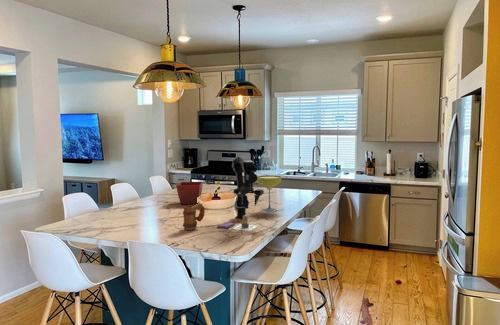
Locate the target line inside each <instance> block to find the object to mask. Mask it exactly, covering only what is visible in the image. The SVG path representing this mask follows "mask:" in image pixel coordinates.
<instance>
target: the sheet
mask: <svg viewBox="0 0 500 325" xmlns="http://www.w3.org/2000/svg"><path fill="white" fill-rule="evenodd" d="M258 227H259V225H252V224H249V228H242V223H240V224H238V225H235V226H233V228H232V227H231V228H232V230H239V231H247V232H248V231H249V232H250V231H253V230H254V229H256V228H258ZM252 229H253V230H252Z"/></svg>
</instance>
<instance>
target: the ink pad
mask: <svg viewBox="0 0 500 325" xmlns="http://www.w3.org/2000/svg"><path fill="white" fill-rule="evenodd" d="M235 226H236V223H234V222H224V223H223V222H222V224H219V225H217V229H222V230H223V229H225V230H229V229H230V228H232V227H235Z"/></svg>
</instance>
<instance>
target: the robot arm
mask: <svg viewBox="0 0 500 325" xmlns="http://www.w3.org/2000/svg"><path fill="white" fill-rule="evenodd" d="M231 168H232V170H233V171H232V172H234V174H235V179H236V188H235V189H233V194H235V195H236V198H235V202H234V209H235V210H236V211H237V213H236V214H237V215H236V216H235V217H234V218H235V219H243V216H244V215H246V209H247V210H248V209H249V204H250V202H249V200H248V196H247V195H248V194H254V206H257V204H258V201H259V199H260V197H261V196H262V195H264V189H259V188H258V189H254V183H257V177H258V175H257V174H256V173H257V167H256V164H255V162H254V161H253V160H248V159H247V158H246V157H245V155H237V156H236V157H235V159H233V160H232V163H231ZM246 216H247V218H248V215H246Z"/></svg>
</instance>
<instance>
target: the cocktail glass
mask: <svg viewBox="0 0 500 325" xmlns="http://www.w3.org/2000/svg"><path fill="white" fill-rule="evenodd" d="M256 183H258V184H259V185H261V186H262V187H265V188H266V190H267V191H268V207H267V208H266V207H265V208H263V209H261V210H262V211H263V212H275V211H274V210H276V209H277V208H273V207H272V206H271V190H272V189H273V188H275V186H278V185H280V184H281V183H282V176H280V175H259V176H257V181H256ZM276 211H277V210H276Z"/></svg>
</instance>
